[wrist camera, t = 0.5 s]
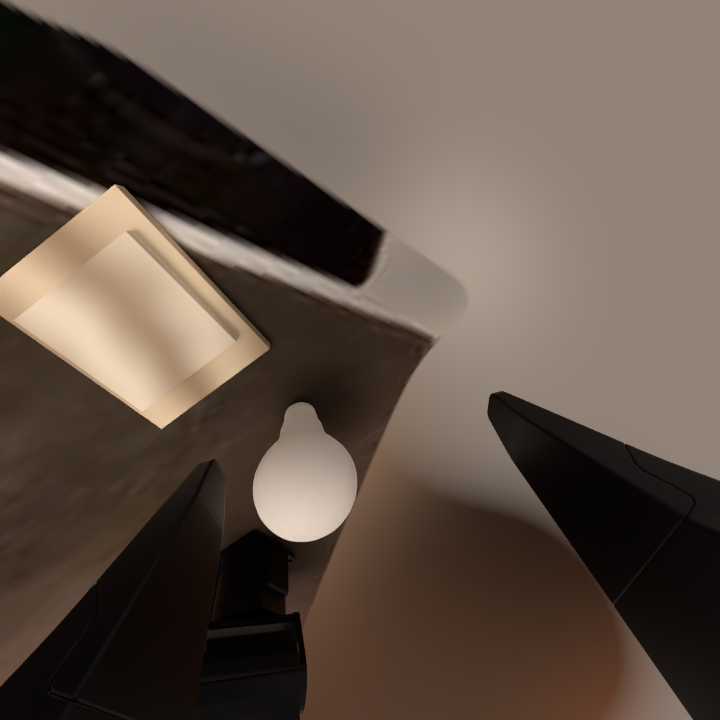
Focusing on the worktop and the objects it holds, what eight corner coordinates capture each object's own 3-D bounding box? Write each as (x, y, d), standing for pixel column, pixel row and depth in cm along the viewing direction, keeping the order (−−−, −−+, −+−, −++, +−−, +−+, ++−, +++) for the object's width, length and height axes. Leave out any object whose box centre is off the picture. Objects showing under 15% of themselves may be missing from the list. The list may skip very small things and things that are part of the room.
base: (166, 420, 23) (156, 437, 21) (-9, 293, 17) (-43, 302, 15) (270, 343, 22) (269, 354, 20) (123, 186, 17) (104, 182, 15)
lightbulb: (248, 425, 25) (225, 558, 15) (284, 365, 23) (285, 469, 13) (313, 448, 27) (330, 575, 17) (349, 395, 26) (390, 501, 16)
